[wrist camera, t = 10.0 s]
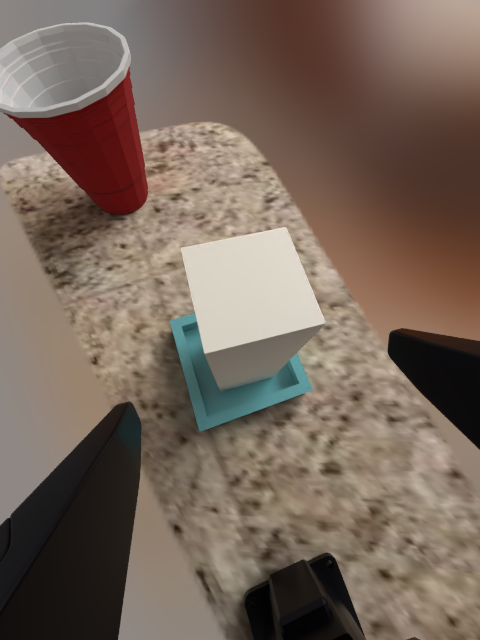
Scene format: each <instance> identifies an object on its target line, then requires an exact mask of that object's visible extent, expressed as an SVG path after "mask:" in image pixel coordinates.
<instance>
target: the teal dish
mask: <svg viewBox="0 0 480 640" xmlns="http://www.w3.org/2000/svg"><path fill="white" fill-rule="evenodd" d="M170 323H171V327H172V331H173V335H174V339H175V342H176V346H177V350H178V354H179V357H180V361H181V365H182V369H183V372H184V376H185V380H186V384H187V387H188V391H189V395H190V399H191V402H192V406H193V410H194V414H195V417H196V421H197V425H198V429H199V432H201V431H204V430H206V429H209V428H212V427H214V426H217V425H220V424H223V423H225V422H228V421H231V420H233V419H236V418H239V417H241V416H244V415H247V414H250V413H252V412H255V411H258V410H260V409H263V408H266V407H268V406H271V405H274V404H276V403H279V402H282V401H285V400H287V399H290V398H293V397H295V396H298V395H301V394H303V393H306V392H309V391H311V390H313V389H312V386H311V384H310V382H309V380H308V377H307V375H306V373H305V370H304V368H303V366H302V363H301V361H300V359H299V356H298V354H297V353H296V354H295V355H294V356H293V357H292V358H291V359H290V360H289V361H288V362H287V363H286V364H285V365H284V366H283V367H282V368H281V369H280V370H279V371H278V372H277V373H276V374H275V375H274V376H273V377H272V378H268V379H265V380H261V381H257V382H254V383H250V384H246V385H243V386H239V387H235V388H232V389H228V390H224V391H221V392H220V390H219V387H218V385H217V382H216V380H215V378H214V375H213V373H212V371H211V368H210V366H209V364H208V361H207V359H206V357H205V354H204V350H203V345H202V341H201V336H200V332H199V328H198V323H197V319H196V314H195V313H194V314H190V315H187V316H184V317H180V318H177V319H174V320H170Z"/></svg>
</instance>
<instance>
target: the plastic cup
mask: <svg viewBox="0 0 480 640" xmlns="http://www.w3.org/2000/svg"><path fill="white" fill-rule="evenodd" d="M130 62H131V57H130V51H129V48H128V45H127V42H126V39H125V37H124V36H122V35H121V34H119V33H118V32H117V31H115V30H114V29H112V28H111V27H107V26H103V25H98V24H93V23H64V24H59V25H54V26H51V27H47V28H42V29H38V30H35V31H32V32H30V33H28V34H26V35H24V36H21V37H19V38H17V39H15V40H12V41H10V42H9V43H8V44H6V45H5V46H4V47H2V48H1V49H0V112H3V113H4V114H6V115H7V116H8V117H9V118H11V119H13V120H14V121H15V122H16V123H17V124H18V125H19V126H20V127H21V128H24V129H25V130H26V131H27V132H28V133H29V134H30V135H31V137H32V138H33V139H35V140H37V141H38V142H39V143H40V144H41V146H42V147H43V148H44V149H45V150H46V151H47V152H48V153H49V154H50V155H51V156H52V157H53V158H54V160H55V161H56V162H57V163H58V164H59V165H60V166H61V167H62V168H63V169H64V170H65V171H66V173H67V174H68V175H69V176H70V177H71V178H72V179H73V180H74V181H75V182H76V183H77V184H78V185H79V187H80V188H81V189H83V190H84V191H85V192H86V193H87V194H88V195H89V196H90V197H91V199H92V200H93V201H94V202H95V203H96V204H97V205H98V206H99V207H100V208H102V210H103V211H106V212H108V213H110V214H118V215H123V214H127V213H131V212H133V211H135V210H137V209H139V208H140V207H141V206H142V205H143V204H144V203H145V201H146V199H147V195H148V191H147V190H148V186H147V180H146V175H145V169H144V168H145V163H144V158H143V152H142V147H141V141H140V136H139V130H138V125H137V119H136V114H135V109H134V104H135V103H134V99H133V94H132V84H131V80H130V70H129V69H130V66H129V65H130Z"/></svg>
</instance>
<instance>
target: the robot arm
mask: <svg viewBox="0 0 480 640" xmlns="http://www.w3.org/2000/svg"><path fill="white" fill-rule="evenodd" d="M388 355H389V357H390V358H391V359H392V360H393V362H394V363H395V364H396V365H397V366H398V367H399V369H400V370H401V371H402V372H403V373H404V374H405V376H406V377H407V378H408V379H409V380H410V381H411V382H412V384H413V385H414V386H415V387H416V388H417V389H418V390H419V391H420V392H421V393H422V394H423V395H424V396H425V397H426V398H427V399H428V400H429V401H430V402H431V403H432V404H433V405H434V406H435V407H436V408H437V409H438V410H439V411H440V412H441V413H442V414H443V415H444V416H445V417H446V418H447V419H448V420H450V421H451V422H452V423H453V424H454V425H455V426H456V427H457V428H458V429H459V430H460V431H461V432H462V433H463V434H464V435H465V436H466V437H467V438H468V439H469V440H470V441H471V442H472V443H473V444H474V445H475V446H476V447H477V448H478V449H480V341H476V340H470V339H464V338H457V337H452V336H446V335H439V334H434V333H428V332H422V331H416V330H410V329H404V328H401V329H397V330H394V331H391V332H390V334H389V342H388ZM140 467H141V421H140V419H139V417H138V414H137V412H136V410H135V408H134V405H133V404H132V403H131V402H125V403H121V404H118V405H116V406H115V407H114V408H113V409H112V410H111V411H110V412H109V413H108V414H107V415H106V416H105V417H104V418H103V419H102V421H101V422H100V423H99V424H98V425H97V426H96V427H95V428H94V429H93V430H92V431H91V432H90V433H89V434H88V435H87V436H86V437H85V438H84V440H82V441H81V442H80V443H79V444H78V445H77V447H76V448H75V449H74V450H73V451H72V452H71V453H70V454H69V455H68V456H67V457H66V458H65V459H64V460H63V461H62V462H61V463H60V464H59V465H58V466H57V467H56V468H55V469H54V471H53V472H51V473H50V475H49V476H48V477H47V478H46V479H45V480H44V481H43V482H42V483H41V484H40V485H39V486H38V487H37V488H36V489H35V490H34V491H33V493H31V494H30V495H29V497H27V498H26V499H25V501H24V502H23V503H22V504H21V505H20V506H19V507H18V508H17V509H16V510H15V511H14V512H13V513H12V514H11V517H10V518H7V519H6V520H5V521H4V522H3V523H2V524H1V525H0V640H118V635H119V628H120V620H121V613H122V606H123V598H124V591H125V583H126V577H127V569H128V562H129V555H130V547H131V540H132V532H133V525H134V518H135V511H136V503H137V496H138V489H139V481H140ZM328 560H331V562H332V563H331V565H330V566H329V567H327V566H326V562H327V561H328ZM251 597H254V598H255V599H256V601H255V603H253V604H251V603H250V602H249V599H250V598H251ZM245 607H246V611H247V614H248V618H249V622H250V626H251V629H252V633H253V637H254V640H366V638H365V636H364V633H363V630H362V628H361V625H360V622H359V620H358V617H357V615H356V612H355V609H354V607H353V604H352V601H351V599H350V596H349V593H348V591H347V588H346V585H345V583H344V580H343V577H342V575H341V572H340V570H339V567H338V564H337V562H336V560H335V558H334V557H333V556H332V555H331V554H330V553H324V554H322V555H320V556H318V557H316V558H313V559H311V560H309V561H305V560H301V561H299V562H297V563H294V564H292V565H290V566H288V567H286V568H284V569H282V570H280V571H278V572H276V573H273V574H271V575H270V578H269V580H267V581H265V582H263V583H261V584H259V585H257V586H255V587H253V588H251V589H249V590H248V591H247V592H246V594H245ZM407 640H419V639H417V638H416V637H413V638H410V639H407Z"/></svg>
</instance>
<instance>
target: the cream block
mask: <svg viewBox="0 0 480 640" xmlns="http://www.w3.org/2000/svg"><path fill="white" fill-rule="evenodd" d="M181 251H182V256H183V260H184V265H185V269H186V274H187V278H188V283H189V287H190V292H191V296H192V301H193V305H194V310H195V314H196V319H197V323H198V328H199V332H200V336H201V341H202V345H203V350H204V354H205V357H206V359H207V361H208V364H209V366H210V368H211V371H212V373H213V375H214V378H215V380H216V382H217V385H218V387H219V390H220V392H221V391H224V390H228V389H232V388H235V387H239V386H243V385H246V384H250V383H254V382H257V381H261V380H265V379H268V378H272V377H273V376H274V375H275V374H276V373H277V372H278V371H279V370H280V369H281V368H282V367H283V366H284V365H285V364H286V363H287V362H288V361H289V360H290V359H291V358H292V357H293V356H294V355H295V354H296V353H297V352H298V351H299V350H300V349H301V348H302V347H303V346H304V345H305V344H306V343H307V342H308V341H309V340H310V339H311V338H312V337H313V336H314V335H315V334H316V333H317V332H318V331H319V330H320V329H321V328H322V327H323V326H324V325H325V324H326V322H325V320H324V317H323V315H322V313H321V310H320V308H319V305H318V303H317V301H316V298H315V296H314V293H313V291H312V288H311V286H310V284H309V281H308V279H307V276H306V274H305V271H304V269H303V267H302V264H301V262H300V259H299V257H298V255H297V252H296V250H295V247H294V245H293V242H292V240H291V238H290V235H289V233H288V230H287V228H286V227H283V228H278V229H273V230H268V231H263V232H258V233H253V234H248V235H243V236H238V237H233V238H228V239H223V240H218V241H213V242H208V243H203V244H198V245H193V246H188V247H183V248H181Z"/></svg>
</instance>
